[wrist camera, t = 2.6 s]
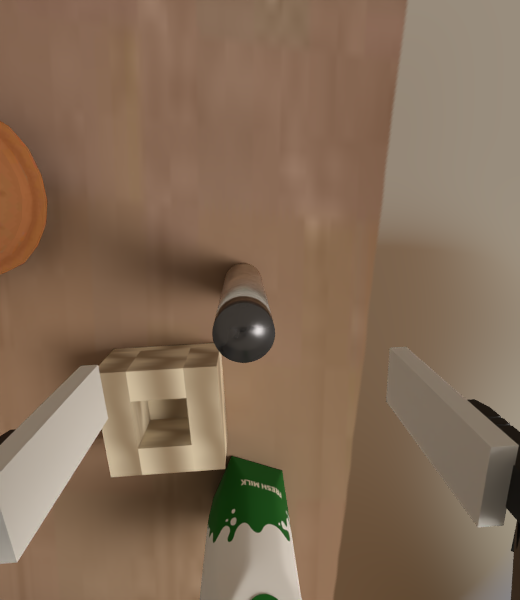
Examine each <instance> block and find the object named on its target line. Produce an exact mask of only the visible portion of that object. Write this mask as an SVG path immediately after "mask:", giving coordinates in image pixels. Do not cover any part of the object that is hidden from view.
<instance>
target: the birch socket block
mask: <svg viewBox="0 0 520 600" xmlns="http://www.w3.org/2000/svg"><path fill="white" fill-rule="evenodd" d="M98 367H99V372H100V378H101V383H102V388H103V394H104V399H105V405H106V410H107V415H108V420H107V421H106V423H105V424H104V426H103V428H102V433H103V438H104V443H105V449H106V454H107V459H108V464H109V470H110V475H111V477H121V476H135V475H149V474H163V473H177V472H191V471H205V470H219V469H225V464H226V448H227V420H226V408H225V395H224V382H223V369H222V356H221V353H220V352H219V351H218V349H217V348H216V346H215V344H214V343H206V344H189V345H172V346H155V347H138V348H120V349H113V350H112V352H111V353H110V354H109V355H108V356H107V357H106V358H105V359H104V360H103V361H102V363H101V364H100V365H99V366H98Z"/></svg>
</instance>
